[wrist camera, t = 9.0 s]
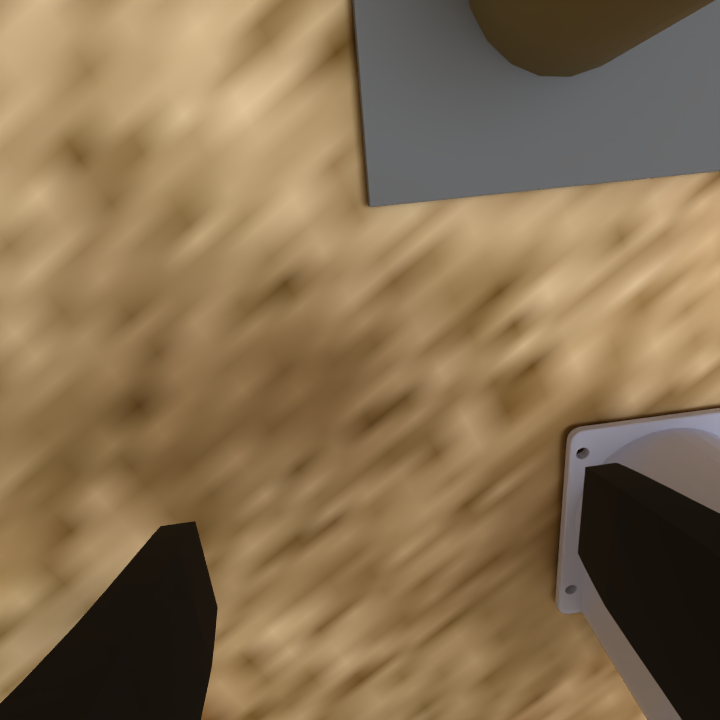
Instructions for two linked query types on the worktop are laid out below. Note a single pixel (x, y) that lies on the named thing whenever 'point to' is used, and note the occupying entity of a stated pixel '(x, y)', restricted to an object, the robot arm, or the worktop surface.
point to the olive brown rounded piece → (574, 30)
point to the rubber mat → (525, 107)
